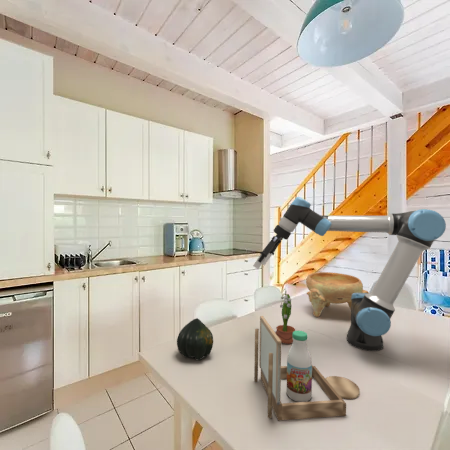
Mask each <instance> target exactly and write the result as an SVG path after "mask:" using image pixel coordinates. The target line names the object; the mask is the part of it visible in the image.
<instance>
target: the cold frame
mask: <svg viewBox="0 0 450 450" xmlns="http://www.w3.org/2000/svg"><path fill="white" fill-rule="evenodd" d="M325 378H326V377H325V376H324V375H323V374H322V373H321V372H320V371H319V369H318V368H317V367H316V366H315V365H313V364H312V379H314V381H315V382H316V384H317V385H319V387H320V388H321V389H322V391H323V392H324V394H325V395H326V396H327V398H329V399H328V400H313V401H307V402H297V401H296V402H285V403H282V400H280V405H277V404H276V401H275V399H274V396H273V394H272V410H273V411H274V414H275V416H276V419H277V420H278V421H289V420H302V419H303V420H304V419H320V418H329V417H330V418H331V417H344V416H345V417H346V416H347V402H345V399H342V398H341V397H340V395H339V394H338V393H337V392H336V391H335V389H334V388H333V387H332V386H331V385H330V384H329V382H328V381H327V380H326V379H325ZM260 380H261V383H262V385H263V387H264V388H263V389H264V390H265V392H266V395H267V396H268V383H267V381H266V379H265V377H264V374H263V372H262V370H261V369H260ZM281 380H287V365H281Z"/></svg>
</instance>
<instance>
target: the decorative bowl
mask: <svg viewBox="0 0 450 450" xmlns="http://www.w3.org/2000/svg"><path fill="white" fill-rule="evenodd" d="M305 284H306V288H307V289H308V291H307V292H306V295H308V300H309V303H310V304H311V307H312V310H313V311H312V314H313V316H314V317H315V318H318V317H320V316H321V314H322V312H323V310H324V309H325V308H329V307H330V306H331V304H334V305H337V304H338V305H341V304H347V305H348V307H349V309H350V310H351V297H352V294H353V293H370V292H369V291H368V290H366V289H364V286H363V282H362V280H361V279H360V278H359V277H356V276H355V275H354V276H353V275H350V274H345V273H340V272H325V271H323V272H322V271H321V272H313V273H310V274H308V276H307V277H306V280H305Z"/></svg>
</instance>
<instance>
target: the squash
mask: <svg viewBox="0 0 450 450" xmlns="http://www.w3.org/2000/svg"><path fill="white" fill-rule="evenodd" d="M213 345H214V335H213V333H212V331H211V330H210V329H209V327H207V326H206V324H205V323H203V322H202V320H200V318H198V317H196V318H194V319H192V320H190V321H189V322H188V323H187V324H185V325H184V326H183V327H182V328H181V330H180V331H179V332H178V336H177V338H176V346H177V350H178V352H179V353H180V355H182V356H183V357H184V358H194V359H196V360H197V361H200V360H202V359H203V358H206V357H208V356H209V355H210V354H211V351H212V350H213Z"/></svg>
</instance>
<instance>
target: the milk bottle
mask: <svg viewBox="0 0 450 450" xmlns="http://www.w3.org/2000/svg"><path fill="white" fill-rule="evenodd" d="M292 337H293V338H292V339H293V343H291V347H290V348H289V351H288V352H287V360H286V366H287V379H286V394H287V396H288V397H289V399H291V400H293V401H294V402H296V403H297V402H310V400H311V399H312V395H313V394H312V393H313V392H312V391H313V390H312V389H313V387H312V386H313V383H312V382H313V377H312V365H313V360H312V356H311V352H310V351H309V348H308V345H307V344H308V343H307V342H308V333H307V332H305V331H304V330H303V331H302V330H295V331H294V332H293V334H292Z"/></svg>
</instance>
